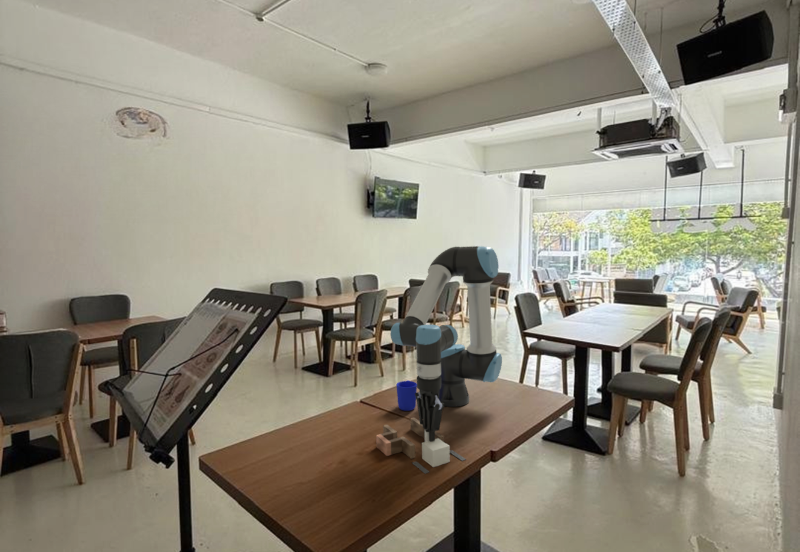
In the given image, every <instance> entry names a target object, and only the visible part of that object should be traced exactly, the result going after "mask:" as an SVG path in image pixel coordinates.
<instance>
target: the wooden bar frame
mask: <svg viewBox="0 0 800 552" xmlns="http://www.w3.org/2000/svg"><path fill="white" fill-rule="evenodd" d="M382 429H383V430H382V431H383V433H380V434H376V435H375V436H376V443H375V444H376V448H377V449H378V450H379V451H381V452H382V453H383V454H384V455H385V456H386V457H389V456H391V455H395V454H398V453H401V452H402V453H403V454H405V455H406V456H407V457H408V458H410V459H414V458H416V444H415V443H413V442H412V441H410V440H409V439H408V438H407V437H405V436H400V437H398V431H397V430H396V429H394V428H393V427H391V426H390V425H389V424H384V425H383V427H382ZM410 430H411V431H412V432H413V433H416V434H417V435H418V436H420V437H421V438H423V439H424V440H425V437H424V428H423V425H421V424H420V421H419V419H417V418H416V417H411V418H410ZM437 438H439V439H440V440H442V441H443V442H445V435H442V434H441V433H439V432H438V431H435V439H437Z"/></svg>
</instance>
